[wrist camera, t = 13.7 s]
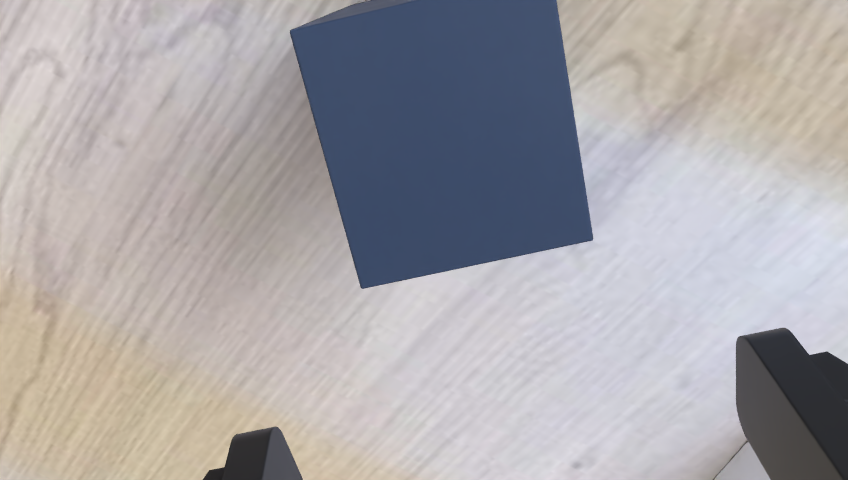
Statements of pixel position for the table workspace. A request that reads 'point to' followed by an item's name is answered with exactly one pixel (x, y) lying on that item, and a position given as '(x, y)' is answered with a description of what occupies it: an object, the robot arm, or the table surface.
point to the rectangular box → (445, 132)
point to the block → (744, 466)
